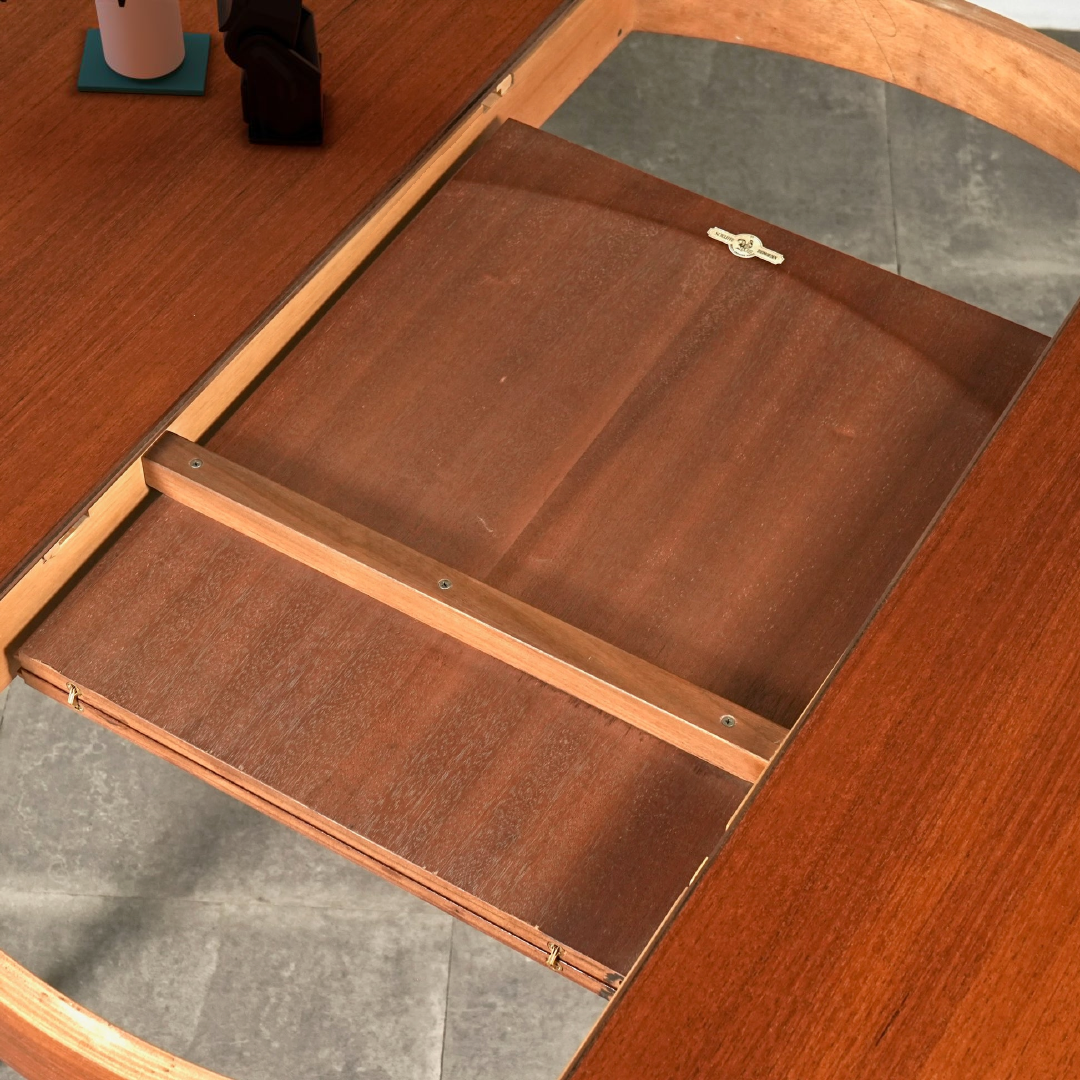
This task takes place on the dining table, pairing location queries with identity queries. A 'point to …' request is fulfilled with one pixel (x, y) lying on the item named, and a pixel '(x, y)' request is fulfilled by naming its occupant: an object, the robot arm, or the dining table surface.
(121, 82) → the teal mat
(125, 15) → the can
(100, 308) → the dining table surface
